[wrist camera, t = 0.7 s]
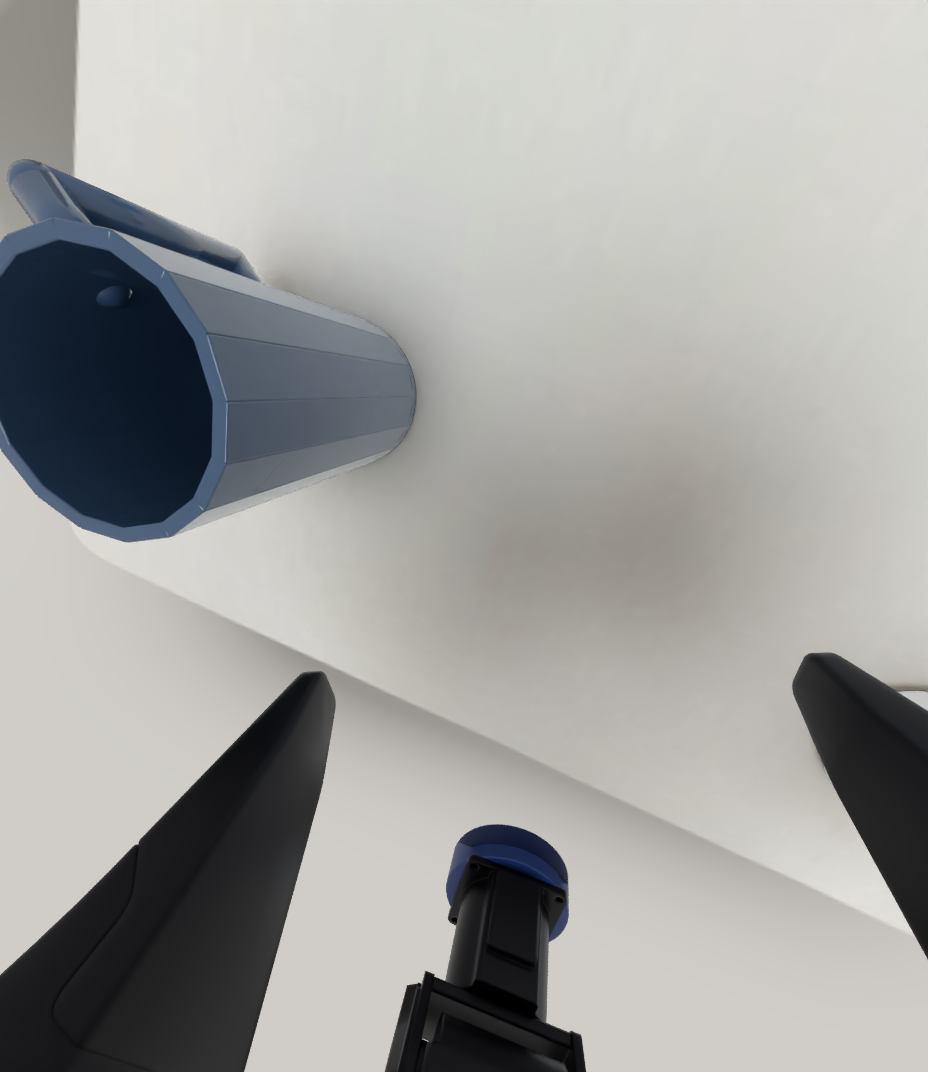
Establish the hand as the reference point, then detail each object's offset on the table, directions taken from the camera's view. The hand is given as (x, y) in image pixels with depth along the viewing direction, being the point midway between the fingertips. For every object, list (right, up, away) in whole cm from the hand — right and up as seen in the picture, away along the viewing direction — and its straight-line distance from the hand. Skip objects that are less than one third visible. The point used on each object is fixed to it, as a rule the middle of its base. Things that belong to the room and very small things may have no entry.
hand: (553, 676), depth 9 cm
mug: (-8, +11, +13) cm, 19 cm away
